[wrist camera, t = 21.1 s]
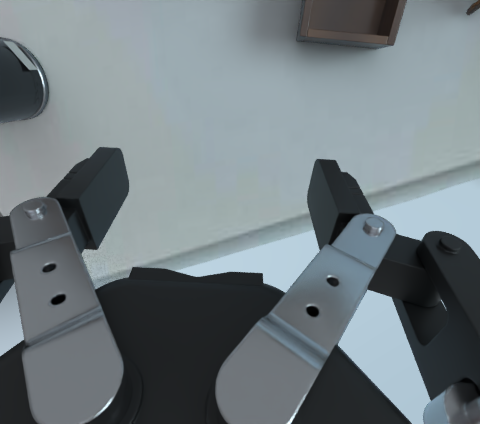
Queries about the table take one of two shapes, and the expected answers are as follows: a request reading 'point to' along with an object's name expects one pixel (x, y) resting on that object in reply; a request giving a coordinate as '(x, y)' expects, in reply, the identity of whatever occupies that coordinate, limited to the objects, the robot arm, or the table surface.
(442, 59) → the table surface
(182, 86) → the table surface
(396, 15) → the wooden divided box
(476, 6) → the lion figurine
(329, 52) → the table surface
